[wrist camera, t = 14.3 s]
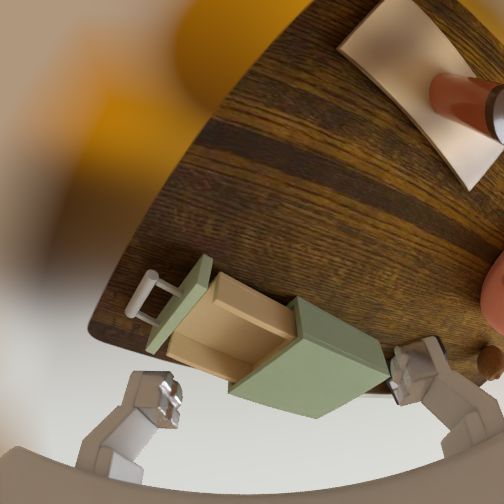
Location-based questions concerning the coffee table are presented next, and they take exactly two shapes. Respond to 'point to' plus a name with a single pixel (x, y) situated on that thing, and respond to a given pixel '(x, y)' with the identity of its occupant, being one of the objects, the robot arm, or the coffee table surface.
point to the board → (418, 80)
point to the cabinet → (316, 366)
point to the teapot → (494, 295)
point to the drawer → (215, 322)
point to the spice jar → (470, 103)
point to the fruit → (490, 363)
